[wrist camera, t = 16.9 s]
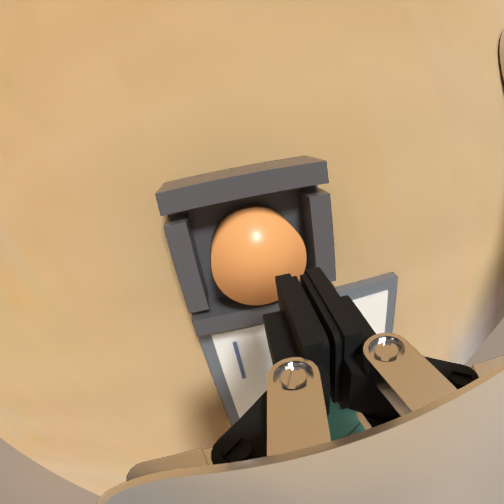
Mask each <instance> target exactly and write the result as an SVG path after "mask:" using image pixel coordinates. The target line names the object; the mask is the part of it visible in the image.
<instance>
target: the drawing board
mask: <svg viewBox="0 0 504 504" xmlns="http://www.w3.org/2000/svg"><path fill="white" fill-rule="evenodd" d="M397 281H398V276H397V275H396V274H395V273H394V272H390V273H387V274H383V275H380V276H376V277H373V278H369V279H365V280H362V281H358V282H354V283H351V284H347V285H343V286H339V287H336V291H337V292H338V294H339V295H340V297H341V296H345V295H348V296H349V297H350V298H351V299H352V301H353V302H354V303H355V305H356V306H357V308H358V309H359V310H360V312H361V313H362V315H363V316H364V317H365V319H366V320H367V322H368V323H369V324H370V326H371V327H372V329H373V330H374V331H375V333H376V334H379V333H392V331H393V323H394V314H395V304H396V293H397ZM198 338H199V341H200V343H201V346H202V349H203V352H204V355H205V358H206V360H207V363H208V366H209V369H210V371H211V374H212V377H213V379H214V382H215V385H216V387H217V390H218V392H219V395H220V397H221V400H222V403H223V405H224V408H225V410H226V413H227V415H228V417H229V420H230V422H231V425H232V426H233V425H234V424H235V423H236V422H237V421H238V420H239V419H240V418H241V417H242V416H243V415H244V414H245V412H246V411H247V410H248V409H249V408H250V407H251V406H252V405H253V404H254V403H255V402H256V401H257V400H258V399H259V398H260V397H261V396H262V394H263V393H264V392H265V391H266V390H267V376H268V372H269V370H270V369H271V367H272V366H273V363H272V359H271V355H270V351H269V347H268V342H267V337H266V332H265V327H264V323H261V324H256V325H252V326H247V327H242V328H238V329H233V330H228V331H223V332H218V333H213V334H208V335H203V336H198Z"/></svg>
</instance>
